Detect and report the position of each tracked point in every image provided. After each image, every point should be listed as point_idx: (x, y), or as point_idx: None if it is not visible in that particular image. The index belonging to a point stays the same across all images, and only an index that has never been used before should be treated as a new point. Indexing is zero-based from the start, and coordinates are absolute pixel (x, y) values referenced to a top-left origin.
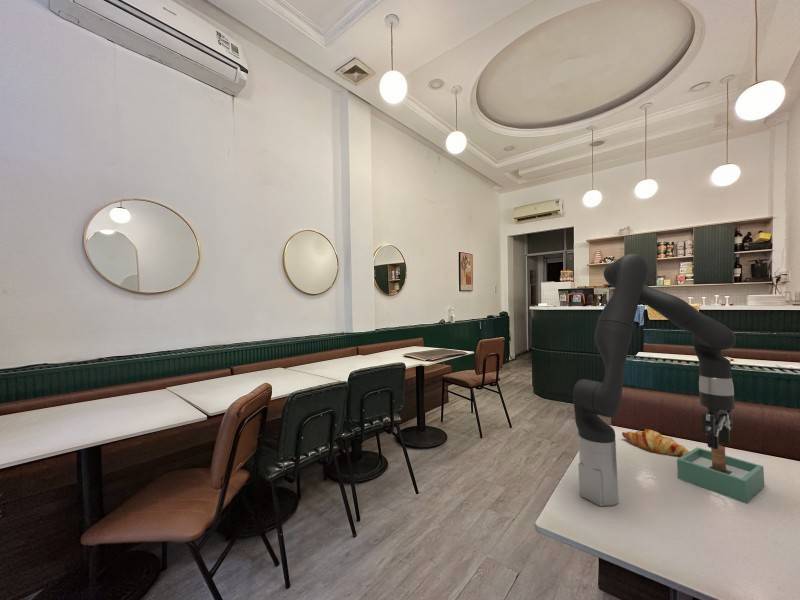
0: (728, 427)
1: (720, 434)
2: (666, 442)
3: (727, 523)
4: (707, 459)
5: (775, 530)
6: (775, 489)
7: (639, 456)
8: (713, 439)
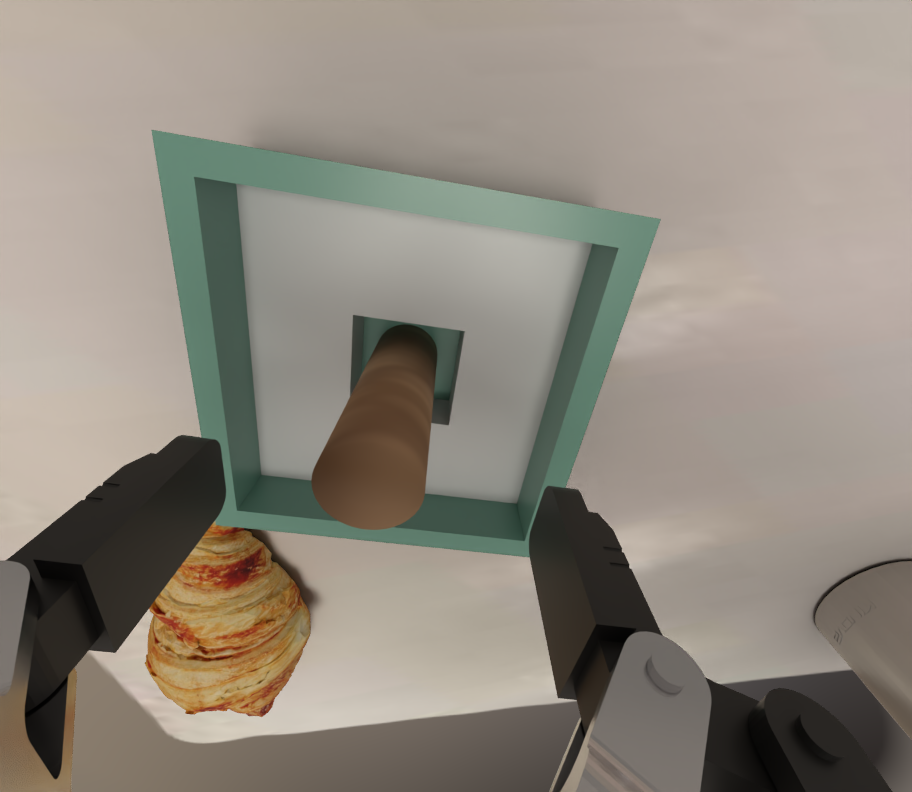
0: (1, 646)
1: (171, 562)
2: (233, 612)
3: (893, 259)
4: (270, 443)
5: (863, 54)
6: (230, 90)
7: (401, 607)
8: (640, 612)
